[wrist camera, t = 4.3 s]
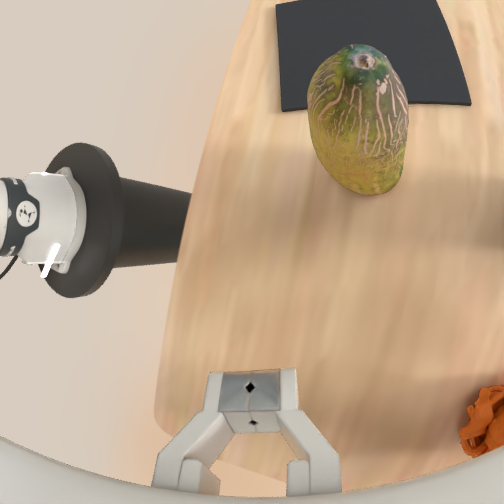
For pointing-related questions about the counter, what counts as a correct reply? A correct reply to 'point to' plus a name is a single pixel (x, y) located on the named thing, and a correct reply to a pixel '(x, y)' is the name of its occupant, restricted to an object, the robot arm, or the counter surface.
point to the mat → (372, 34)
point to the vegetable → (359, 119)
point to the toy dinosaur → (485, 423)
